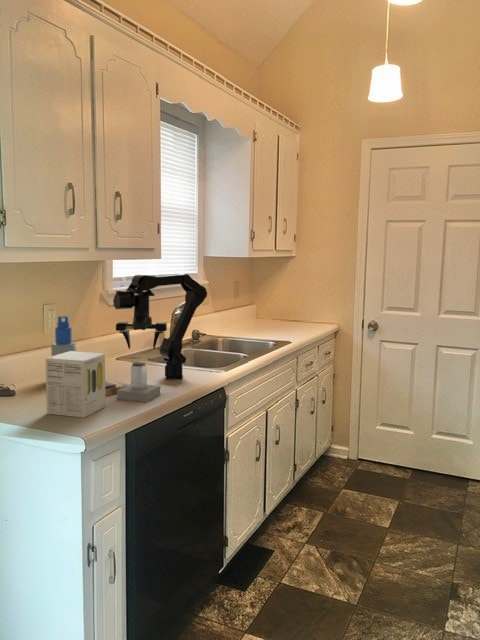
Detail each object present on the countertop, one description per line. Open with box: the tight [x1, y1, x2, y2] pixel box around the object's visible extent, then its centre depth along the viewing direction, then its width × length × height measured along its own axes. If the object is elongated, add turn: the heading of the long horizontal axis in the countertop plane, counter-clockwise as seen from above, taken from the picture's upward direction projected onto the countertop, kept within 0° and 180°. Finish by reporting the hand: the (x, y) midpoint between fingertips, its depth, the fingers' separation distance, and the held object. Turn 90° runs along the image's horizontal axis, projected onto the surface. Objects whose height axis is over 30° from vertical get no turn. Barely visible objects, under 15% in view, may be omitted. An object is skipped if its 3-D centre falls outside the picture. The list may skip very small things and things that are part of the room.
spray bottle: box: [50, 315, 77, 357], centre depth 205 cm, size 9×9×25 cm
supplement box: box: [45, 350, 106, 419], centre depth 167 cm, size 13×13×18 cm
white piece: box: [130, 361, 148, 390], centre depth 184 cm, size 4×4×9 cm
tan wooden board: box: [105, 380, 129, 397], centre depth 191 cm, size 12×8×3 cm, turn 139°
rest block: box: [116, 383, 161, 403], centre depth 185 cm, size 11×11×3 cm
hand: (141, 348), depth 204 cm, fingers open, 9 cm apart
